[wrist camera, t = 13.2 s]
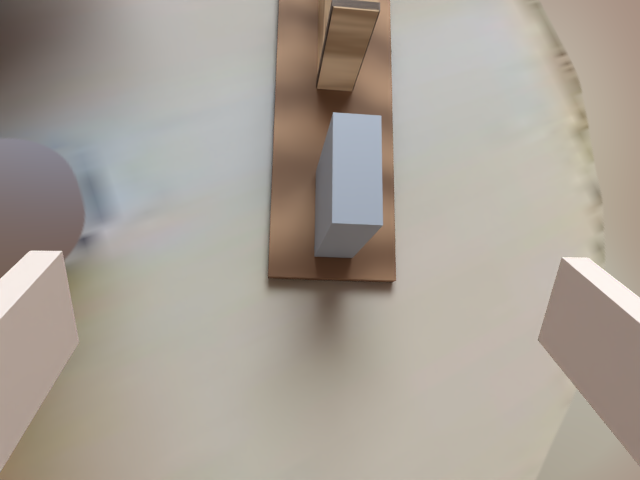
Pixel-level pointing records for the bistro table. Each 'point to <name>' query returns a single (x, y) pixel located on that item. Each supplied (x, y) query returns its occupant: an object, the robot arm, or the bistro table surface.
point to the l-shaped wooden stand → (312, 126)
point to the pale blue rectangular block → (349, 185)
